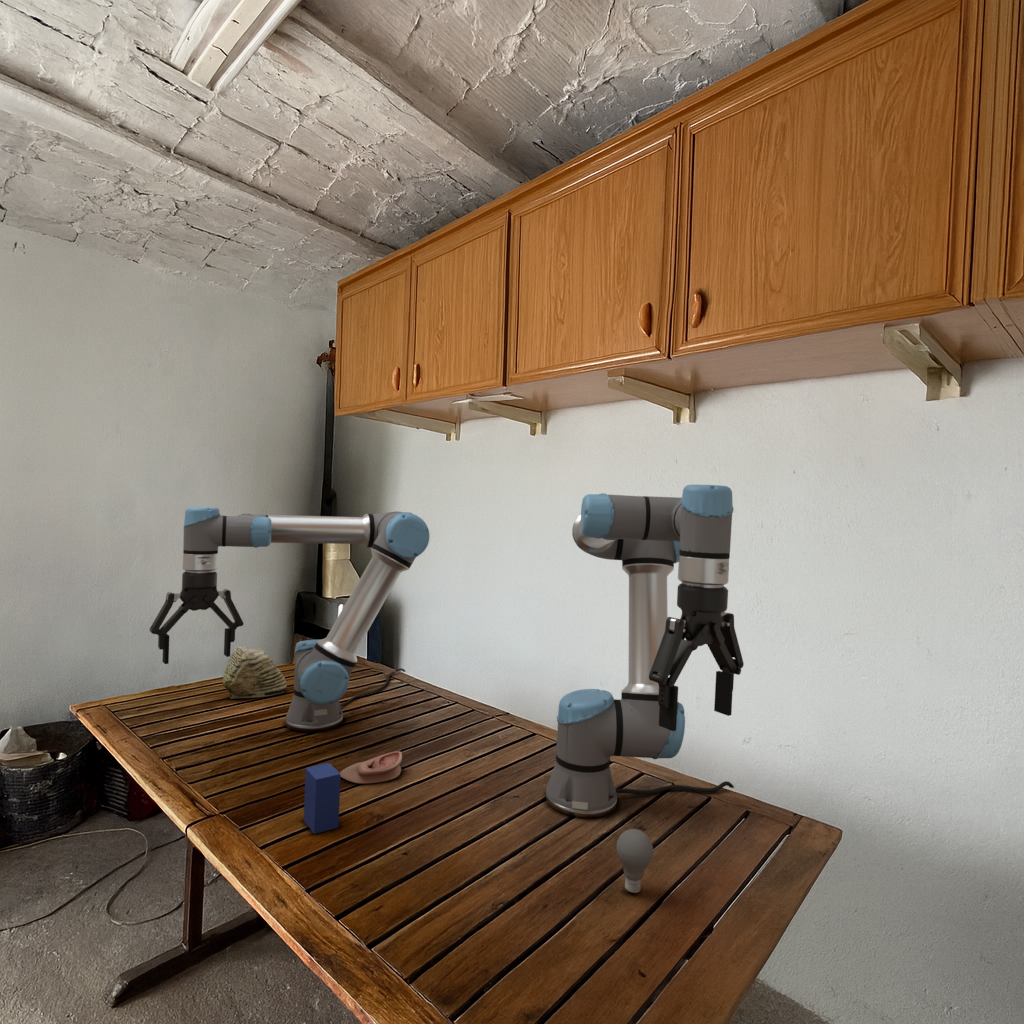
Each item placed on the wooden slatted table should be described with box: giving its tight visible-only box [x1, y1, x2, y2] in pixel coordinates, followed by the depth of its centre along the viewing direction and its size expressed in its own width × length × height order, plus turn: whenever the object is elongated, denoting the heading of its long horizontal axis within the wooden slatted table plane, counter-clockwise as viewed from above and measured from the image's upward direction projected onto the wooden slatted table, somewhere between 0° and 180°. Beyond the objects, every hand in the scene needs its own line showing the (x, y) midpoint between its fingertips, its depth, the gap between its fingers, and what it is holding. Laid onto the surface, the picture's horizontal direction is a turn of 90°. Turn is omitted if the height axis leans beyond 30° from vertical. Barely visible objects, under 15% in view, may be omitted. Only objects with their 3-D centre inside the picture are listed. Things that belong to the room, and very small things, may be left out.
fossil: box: [222, 646, 288, 699], centre depth 198 cm, size 9×18×15 cm, turn 132°
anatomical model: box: [339, 750, 403, 784], centre depth 146 cm, size 13×4×12 cm
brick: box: [303, 762, 341, 835], centre depth 123 cm, size 5×6×10 cm
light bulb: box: [615, 828, 654, 894], centre depth 106 cm, size 6×6×10 cm
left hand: (197, 659), depth 152 cm, fingers open, 13 cm apart
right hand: (696, 720), depth 99 cm, fingers open, 13 cm apart
